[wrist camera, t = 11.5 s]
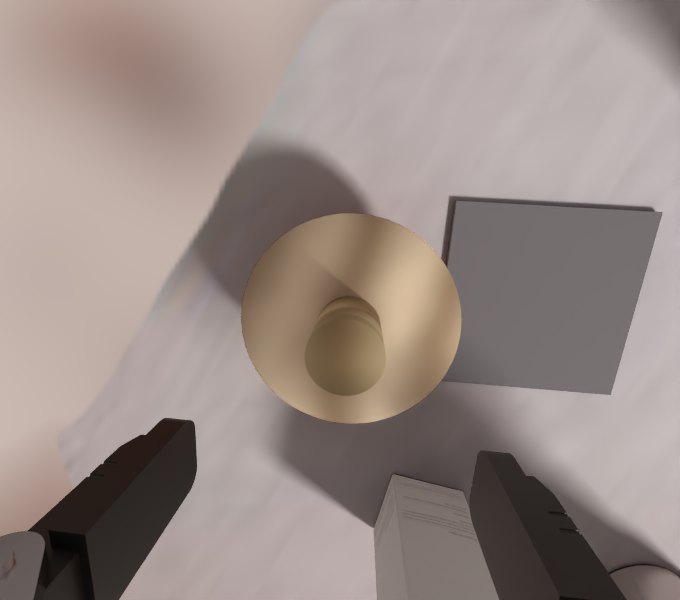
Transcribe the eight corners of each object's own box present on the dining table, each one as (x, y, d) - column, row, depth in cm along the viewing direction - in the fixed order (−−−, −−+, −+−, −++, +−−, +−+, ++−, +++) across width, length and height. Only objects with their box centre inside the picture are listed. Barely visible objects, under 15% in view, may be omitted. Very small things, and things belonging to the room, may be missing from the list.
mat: (656, 212, 25) (662, 212, 24) (606, 391, 28) (610, 394, 28) (454, 201, 25) (456, 200, 25) (430, 377, 29) (431, 379, 29)
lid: (471, 220, 20) (517, 220, 14) (441, 421, 23) (468, 491, 17) (246, 207, 21) (198, 202, 15) (248, 404, 24) (210, 466, 18)
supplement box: (371, 529, 34) (376, 707, 21) (392, 470, 32) (411, 629, 19) (441, 548, 34) (486, 737, 21) (466, 490, 32) (531, 661, 19)
